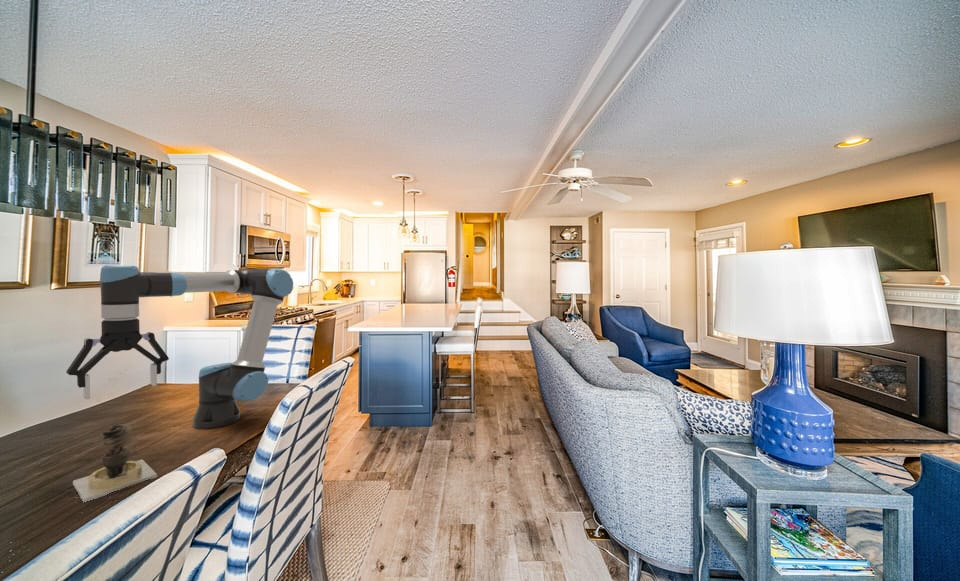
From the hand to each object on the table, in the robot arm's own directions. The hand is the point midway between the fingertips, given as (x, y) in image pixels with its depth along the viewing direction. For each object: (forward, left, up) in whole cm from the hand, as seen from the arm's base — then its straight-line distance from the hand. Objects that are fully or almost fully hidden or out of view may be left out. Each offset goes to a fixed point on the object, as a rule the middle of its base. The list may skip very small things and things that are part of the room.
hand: (122, 391), depth 98 cm
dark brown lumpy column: (+1, +2, -24) cm, 24 cm away
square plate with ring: (+2, +2, -25) cm, 25 cm away
